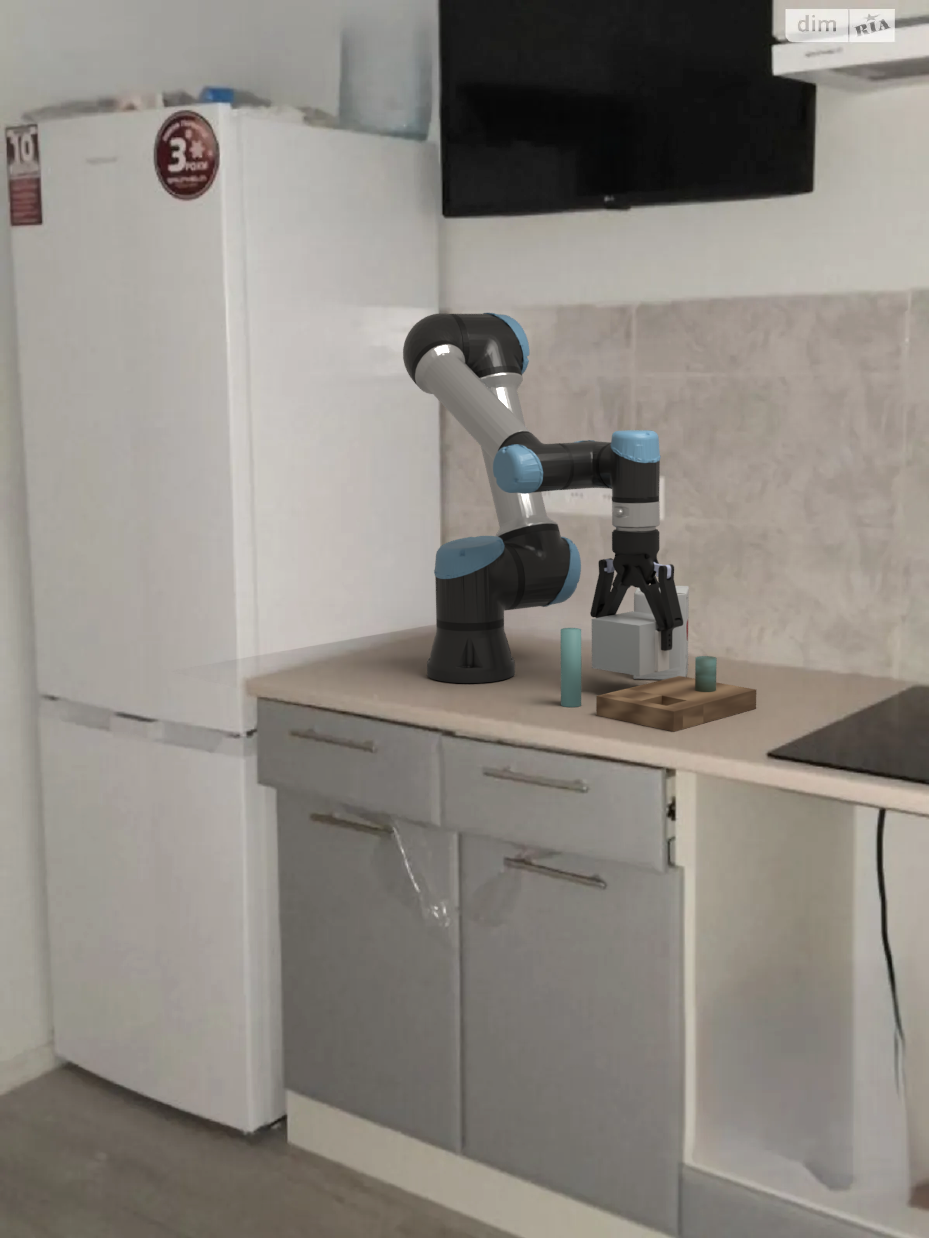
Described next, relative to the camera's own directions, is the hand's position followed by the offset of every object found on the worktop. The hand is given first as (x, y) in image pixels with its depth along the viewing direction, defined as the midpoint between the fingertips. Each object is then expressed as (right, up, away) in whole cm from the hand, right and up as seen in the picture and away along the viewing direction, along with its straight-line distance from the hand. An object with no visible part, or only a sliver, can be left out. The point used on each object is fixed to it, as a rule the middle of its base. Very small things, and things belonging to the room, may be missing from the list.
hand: (635, 665), depth 245 cm
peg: (-11, -6, -6) cm, 14 cm away
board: (+5, -7, -12) cm, 15 cm away
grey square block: (0, 0, 0) cm, 0 cm away
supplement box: (+6, -2, +15) cm, 16 cm away
